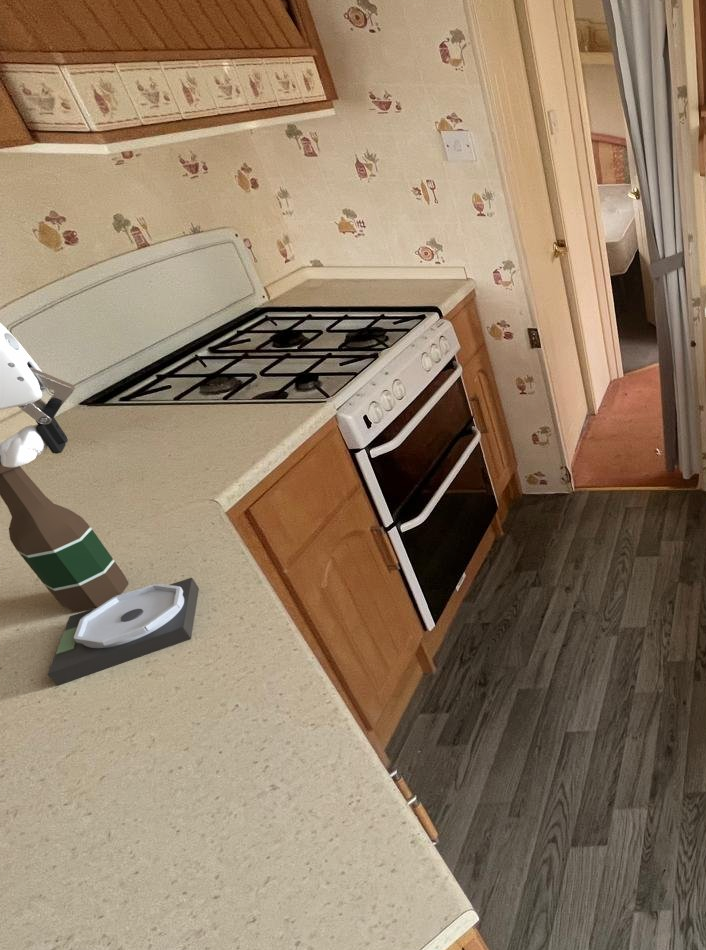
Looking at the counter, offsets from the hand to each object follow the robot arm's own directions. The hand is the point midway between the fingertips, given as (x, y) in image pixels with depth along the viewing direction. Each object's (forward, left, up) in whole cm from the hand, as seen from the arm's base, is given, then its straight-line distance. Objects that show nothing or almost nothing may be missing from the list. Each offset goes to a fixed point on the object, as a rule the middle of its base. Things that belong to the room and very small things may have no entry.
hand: (28, 455), depth 85 cm
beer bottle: (-6, +9, -27) cm, 29 cm away
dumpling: (0, 0, -1) cm, 1 cm away
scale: (0, -5, -27) cm, 27 cm away
